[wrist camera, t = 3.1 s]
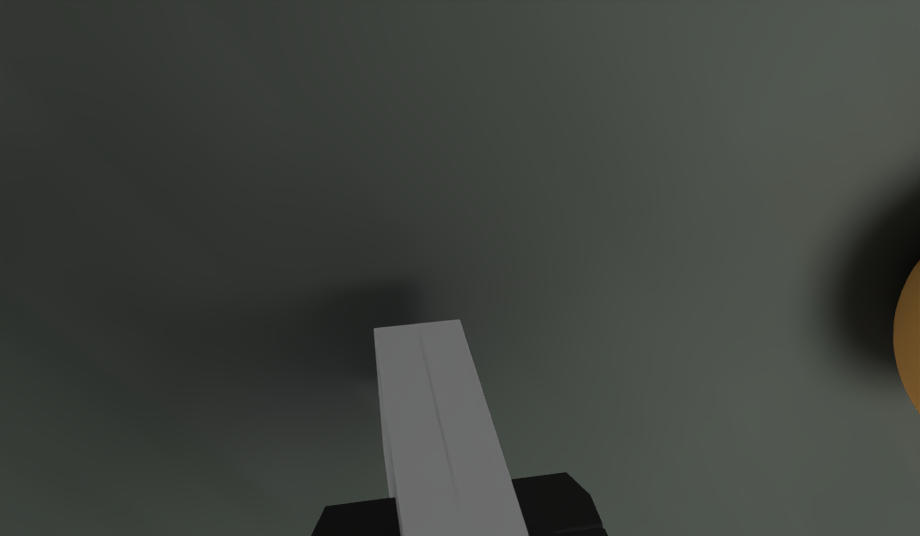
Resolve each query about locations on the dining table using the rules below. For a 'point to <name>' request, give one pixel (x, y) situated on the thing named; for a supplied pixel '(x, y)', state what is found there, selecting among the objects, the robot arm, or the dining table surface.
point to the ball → (909, 336)
